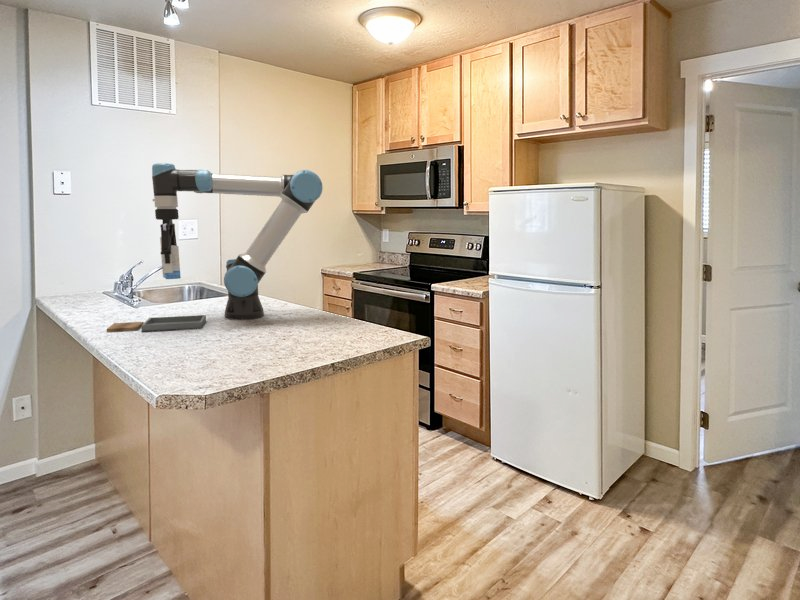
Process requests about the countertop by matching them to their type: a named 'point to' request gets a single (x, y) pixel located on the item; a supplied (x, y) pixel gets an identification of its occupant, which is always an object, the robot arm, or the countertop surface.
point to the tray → (174, 323)
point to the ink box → (175, 263)
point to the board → (125, 327)
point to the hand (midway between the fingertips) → (171, 271)
